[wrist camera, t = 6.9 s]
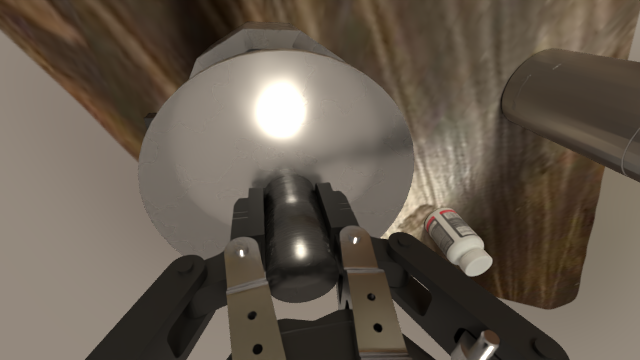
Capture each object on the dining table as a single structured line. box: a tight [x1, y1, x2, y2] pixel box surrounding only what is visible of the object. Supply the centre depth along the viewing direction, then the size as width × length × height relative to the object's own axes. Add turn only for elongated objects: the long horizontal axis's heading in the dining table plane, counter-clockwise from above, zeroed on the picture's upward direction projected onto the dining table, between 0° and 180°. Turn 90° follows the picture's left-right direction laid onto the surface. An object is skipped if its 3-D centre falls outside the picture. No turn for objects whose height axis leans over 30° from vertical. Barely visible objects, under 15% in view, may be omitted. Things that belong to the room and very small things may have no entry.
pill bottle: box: [425, 208, 492, 276], centre depth 41 cm, size 5×5×10 cm
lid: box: [138, 48, 414, 303], centre depth 13 cm, size 14×14×8 cm
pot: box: [144, 22, 344, 130], centre depth 26 cm, size 20×14×8 cm
